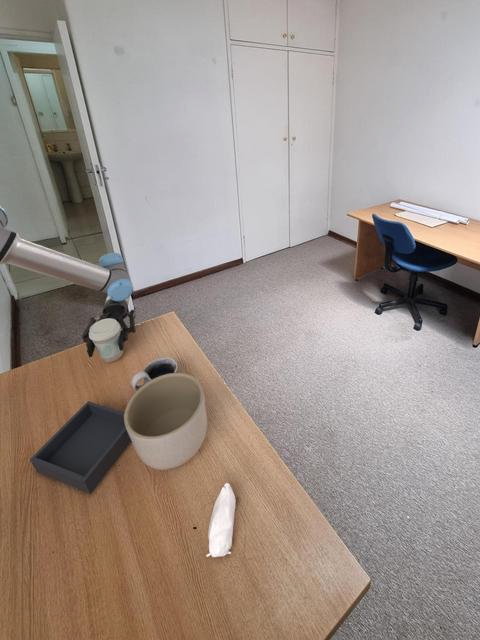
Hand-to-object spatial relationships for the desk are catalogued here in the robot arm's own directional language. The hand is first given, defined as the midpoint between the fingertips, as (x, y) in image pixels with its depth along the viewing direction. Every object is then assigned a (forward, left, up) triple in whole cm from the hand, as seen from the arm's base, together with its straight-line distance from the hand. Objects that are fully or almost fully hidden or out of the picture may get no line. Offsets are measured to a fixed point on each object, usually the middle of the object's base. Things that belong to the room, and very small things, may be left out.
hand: (105, 350), depth 98 cm
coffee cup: (-3, +4, -7) cm, 8 cm away
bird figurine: (+53, -26, -9) cm, 60 cm away
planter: (+33, -14, -9) cm, 37 cm away
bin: (+14, -21, -8) cm, 27 cm away
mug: (+19, -2, -9) cm, 21 cm away
